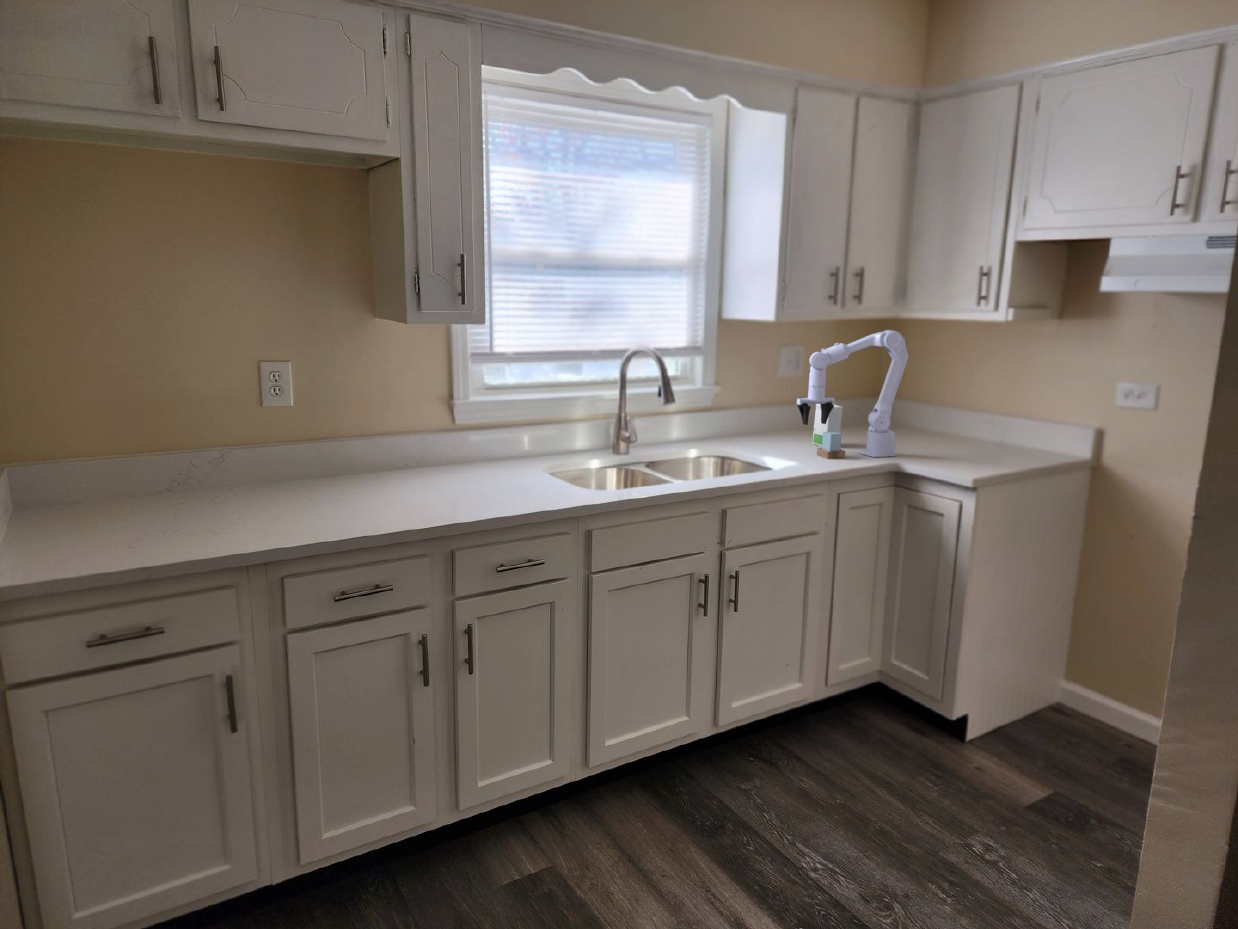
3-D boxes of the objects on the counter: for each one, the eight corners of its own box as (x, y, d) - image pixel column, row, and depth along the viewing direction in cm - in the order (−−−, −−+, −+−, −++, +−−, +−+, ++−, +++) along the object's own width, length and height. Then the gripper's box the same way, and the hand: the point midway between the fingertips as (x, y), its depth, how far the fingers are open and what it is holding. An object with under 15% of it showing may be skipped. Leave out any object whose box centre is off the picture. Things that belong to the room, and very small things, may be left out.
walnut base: (833, 455, 291) (834, 447, 291) (844, 459, 285) (845, 450, 284) (816, 456, 289) (817, 448, 289) (827, 460, 283) (827, 451, 282)
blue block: (832, 448, 289) (833, 431, 288) (840, 450, 285) (841, 433, 284) (821, 448, 287) (823, 432, 286) (829, 451, 283) (831, 434, 282)
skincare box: (811, 444, 310) (814, 403, 307) (825, 443, 313) (828, 402, 310) (826, 448, 303) (829, 406, 300) (840, 447, 306) (843, 405, 302)
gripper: (828, 384, 295) (825, 421, 298) (793, 385, 290) (790, 423, 293) (839, 386, 288) (836, 424, 291) (803, 387, 283) (801, 426, 286)
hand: (814, 424), depth 291 cm, fingers open, 7 cm apart
